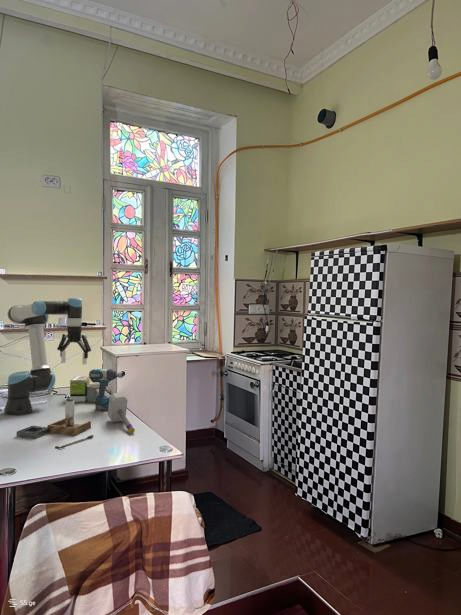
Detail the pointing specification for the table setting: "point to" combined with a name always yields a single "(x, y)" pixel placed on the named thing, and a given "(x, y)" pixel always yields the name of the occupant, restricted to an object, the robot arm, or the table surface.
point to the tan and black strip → (74, 442)
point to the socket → (33, 432)
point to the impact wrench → (103, 385)
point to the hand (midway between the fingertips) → (73, 363)
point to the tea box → (79, 388)
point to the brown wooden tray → (68, 428)
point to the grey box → (92, 392)
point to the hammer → (119, 410)
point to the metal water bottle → (69, 412)
